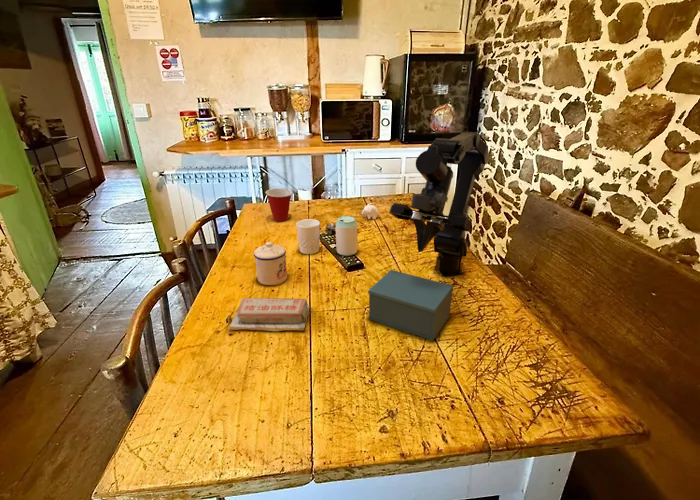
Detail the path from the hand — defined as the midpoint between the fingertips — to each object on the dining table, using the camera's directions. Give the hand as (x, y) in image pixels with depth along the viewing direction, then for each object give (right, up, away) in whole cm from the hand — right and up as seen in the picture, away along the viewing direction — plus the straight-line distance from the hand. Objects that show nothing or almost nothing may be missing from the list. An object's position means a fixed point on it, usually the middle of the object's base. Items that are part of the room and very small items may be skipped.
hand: (419, 251), depth 94 cm
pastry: (-20, +7, +57) cm, 61 cm away
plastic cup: (-45, +13, +70) cm, 84 cm away
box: (-2, -17, +4) cm, 17 cm away
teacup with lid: (-40, -8, +25) cm, 47 cm away
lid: (-2, -10, 0) cm, 10 cm away
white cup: (-31, 0, +41) cm, 51 cm away
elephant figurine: (-8, +13, +69) cm, 71 cm away
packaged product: (-36, -17, +4) cm, 40 cm away
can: (-18, -1, +39) cm, 43 cm away
